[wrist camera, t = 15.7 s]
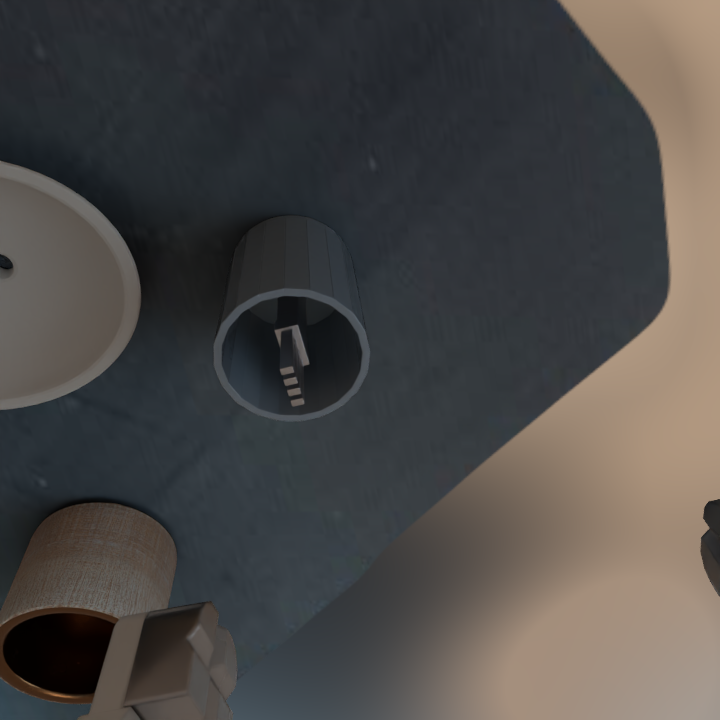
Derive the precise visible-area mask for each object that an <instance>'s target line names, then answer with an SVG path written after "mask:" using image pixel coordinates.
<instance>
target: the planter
mask: <svg viewBox="0 0 720 720" xmlns="http://www.w3.org/2000/svg"><path fill="white" fill-rule="evenodd" d="M176 564H177V551H176V546H175V543H174V541H173V539H172V537H171V535H170V534H169V532H168V531H167V530H166V529H165V528H164V527H163V526H162V525H161V524H160V523H159V522H158V521H157V520H155V519H154V518H152V517H151V516H149V515H147V514H145V513H143V512H141V511H139V510H137V509H134V508H131V507H128V506H124V505H121V504H115V503H106V502H88V503H80V504H75V505H71V506H68V507H65V508H63V509H60V510H58V511H56V512H54V513H53V514H51V515H50V516H48V517H47V518H46V519H45V520H44V521H43V522H42V523H41V524H40V525H39V526H38V528H37V529H36V531H35V532H34V534H33V536H32V538H31V540H30V543H29V545H28V547H27V550H26V552H25V554H24V557H23V559H22V561H21V564H20V566H19V569H18V571H17V573H16V576H15V578H14V581H13V583H12V585H11V588H10V590H9V592H8V595H7V597H6V600H5V602H4V604H3V607H2V609H1V611H0V678H1V679H3V680H4V681H5V682H6V683H8V684H9V685H11V686H12V687H14V688H15V689H17V690H19V691H21V692H23V693H26V694H28V695H31V696H33V697H36V698H40V699H43V700H47V701H52V702H58V703H67V704H91V703H92V701H93V698H94V694H95V691H96V687H97V684H98V681H99V677H100V674H101V670H102V667H103V663H104V660H105V657H106V653H107V650H108V646H109V643H110V639H111V636H112V632H113V629H114V626H115V625H116V623H117V622H118V620H119V619H120V618H121V617H122V616H128V615H133V614H138V613H144V612H149V611H155V610H160V609H166V608H167V607H168V603H169V598H170V594H171V589H172V584H173V579H174V575H175V570H176Z"/></svg>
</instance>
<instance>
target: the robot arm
mask: <svg viewBox="0 0 720 720" xmlns="http://www.w3.org/2000/svg"><path fill="white" fill-rule="evenodd" d="M703 519H704V520H705V522H706V523H707V524H708V526H709V528H710V529H709V530H708V531H707V532H706V533H705V534H704V535H703V536H702V537H701V556H702V560H703V564H704V569H705V571H706V573H707V575H708V578H709V580H710V582H711V583H712V585H713V587H714V589H715V590H716V592H717V594H718V595H719V596H720V499H718V500H714V501H709V502H708V503H707V505H706V506H705V508H704V516H703ZM218 614H219V613H218V611H217V610H216V608H215V606H214V605H213V603H212V601H209V602H202V603H196V604H190V605H184V606H178V607H172V608H166V609H160V610H155V611H149V612H144V613H138V614H133V615H128V616H122V617H121V618H120V619H119V620H118V622H117V623H116V625H115V626H114V629H113V632H112V636H111V639H110V643H109V646H108V650H107V653H106V657H105V660H104V663H103V667H102V670H101V674H100V677H99V681H98V684H97V687H96V691H95V694H94V698H93V701H92V705H91V708H90V711H89V714H87V715H83V716H80V717H79V718H78V719H77V720H232V717H233V713H232V711H231V710H230V708H229V706H228V704H227V703H226V700H227V698H228V697H229V695H230V694H231V693H232V691H233V690H234V688H235V687H236V677H237V662H236V650H235V647H234V643H233V640H232V637H231V635H230V633H229V631H228V630H227V629H226V628H224V627H222V626H220V625H218V624H217V622H218Z"/></svg>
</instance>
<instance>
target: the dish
mask: <svg viewBox="0 0 720 720" xmlns="http://www.w3.org/2000/svg"><path fill="white" fill-rule="evenodd" d="M0 254H2V255H4V256H6V257H8V258H9V259H10V260H11V262H12V264H13V268H11V269H3V268H1V267H0V410H4V409H13V408H20V407H26V406H31V405H36V404H40V403H43V402H46V401H50V400H53V399H56V398H58V397H61V396H64V395H66V394H68V393H70V392H72V391H75V390H77V389H78V388H80V387H82V386H84V385H85V384H87V383H89V382H90V381H92V380H93V379H94V378H96V377H97V376H99V375H100V374H101V373H102V372H103V371H105V370H106V369H107V368H108V367H109V366H110V365H111V364H112V363H113V362H114V361H115V360H116V359H117V358H118V357H119V355H120V354H121V353H122V351H123V350H124V349H125V347H126V346H127V344H128V342H129V340H130V339H131V337H132V335H133V332H134V330H135V328H136V325H137V321H138V318H139V313H140V306H141V287H140V279H139V275H138V271H137V267H136V264H135V262H134V259H133V256H132V254H131V252H130V250H129V248H128V246H127V244H126V243H125V241H124V239H123V238H122V237H121V235H120V234H119V232H118V231H117V229H116V228H115V227H114V226H113V225H112V223H111V222H110V221H109V220H108V219H107V218H106V217H105V216H104V215H103V214H102V213H101V212H100V211H99V210H98V209H97V208H96V207H95V206H93V205H92V204H91V203H90V202H88V201H87V200H86V199H85V198H83V197H82V196H80V195H79V194H77V193H76V192H74V191H73V190H71V189H70V188H68V187H66V186H65V185H63V184H61V183H59V182H57V181H55V180H54V179H51V178H49V177H47V176H45V175H42V174H40V173H38V172H35V171H33V170H30V169H27V168H24V167H21V166H18V165H14V164H11V163H7V162H3V161H0Z"/></svg>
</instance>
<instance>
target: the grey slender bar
mask: <svg viewBox="0 0 720 720" xmlns="http://www.w3.org/2000/svg"><path fill="white" fill-rule="evenodd" d="M274 331H275V334H276V337H277V340H278V343H279V346H280V372H281V375H283V381H284V384H285V386H287V393H288V396H290V401H291V404H292V406H298V405H302V404H304V403H305V402H304V366H305V365H309V364H310V358H309V351H308V343H307V317H306V297H297V296H282V297H278V306H277V321H275V328H274Z"/></svg>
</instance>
